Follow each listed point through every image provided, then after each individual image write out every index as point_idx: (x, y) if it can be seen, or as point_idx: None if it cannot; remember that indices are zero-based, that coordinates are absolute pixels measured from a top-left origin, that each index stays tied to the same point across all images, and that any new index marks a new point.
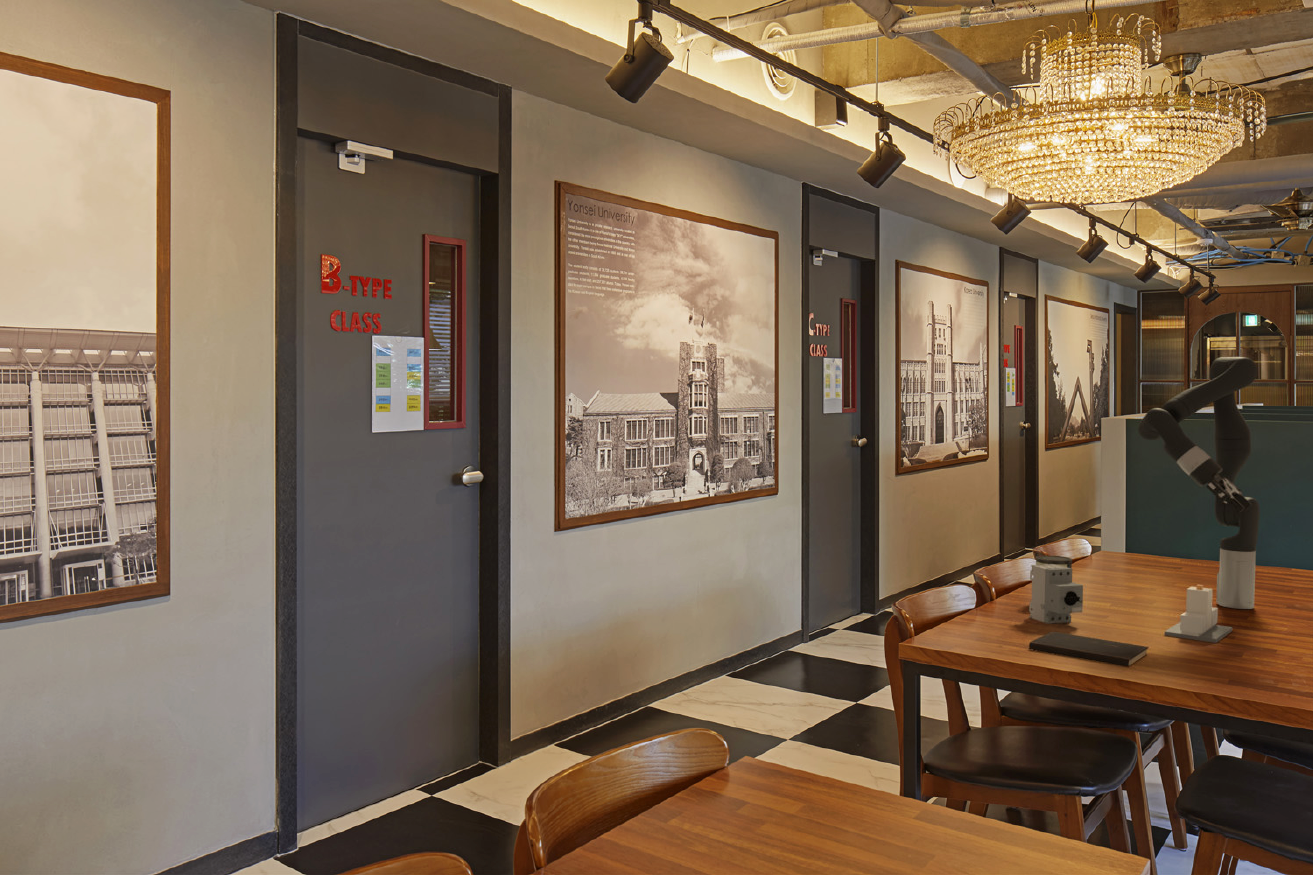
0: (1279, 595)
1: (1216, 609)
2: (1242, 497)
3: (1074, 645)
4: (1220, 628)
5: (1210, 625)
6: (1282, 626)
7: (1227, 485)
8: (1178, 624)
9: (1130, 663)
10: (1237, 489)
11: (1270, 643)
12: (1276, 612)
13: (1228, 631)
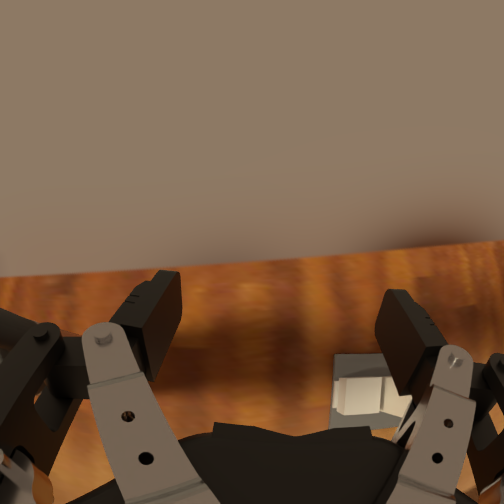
0: (3, 303)
1: (356, 378)
2: (151, 319)
3: None
4: (359, 367)
5: (385, 376)
6: (231, 290)
7: (225, 490)
8: (372, 426)
9: None
10: (51, 356)
11: (384, 290)
12: (112, 306)
13: (363, 354)
